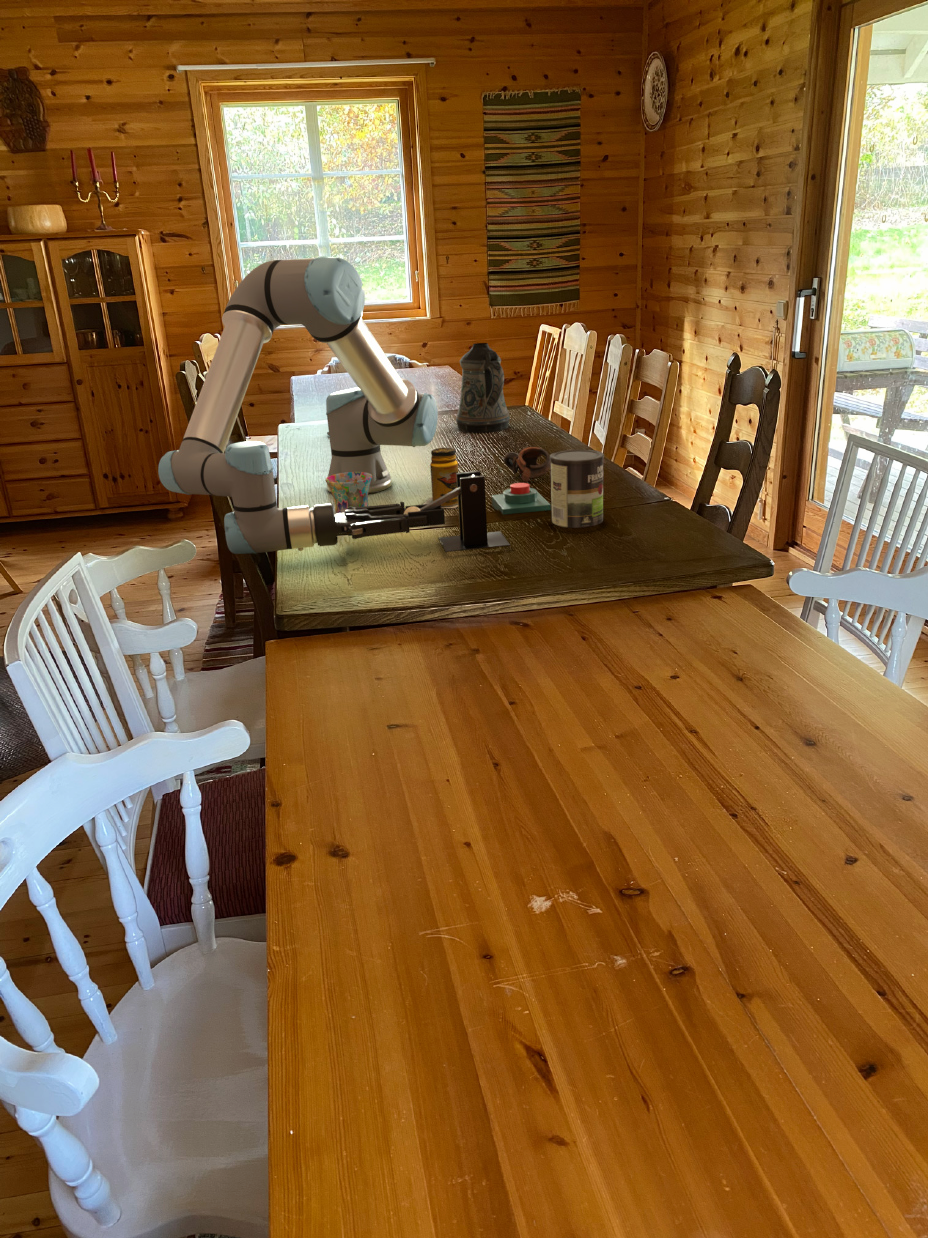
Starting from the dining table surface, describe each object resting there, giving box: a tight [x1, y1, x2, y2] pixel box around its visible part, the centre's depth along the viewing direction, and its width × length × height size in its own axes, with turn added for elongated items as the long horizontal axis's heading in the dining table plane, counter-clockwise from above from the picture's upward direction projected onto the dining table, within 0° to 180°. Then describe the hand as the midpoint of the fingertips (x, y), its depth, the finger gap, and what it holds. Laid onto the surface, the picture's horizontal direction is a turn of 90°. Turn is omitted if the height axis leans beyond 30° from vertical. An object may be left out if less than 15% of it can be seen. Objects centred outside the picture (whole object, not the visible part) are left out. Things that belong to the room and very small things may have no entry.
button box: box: [491, 487, 552, 516], centre depth 192 cm, size 12×10×4 cm
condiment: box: [421, 447, 459, 509], centre depth 199 cm, size 7×8×12 cm
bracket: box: [438, 470, 511, 553], centre depth 169 cm, size 12×9×14 cm
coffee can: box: [549, 448, 605, 529], centre depth 178 cm, size 10×10×14 cm
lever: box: [404, 474, 475, 515], centre depth 167 cm, size 15×4×4 cm, turn 100°
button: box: [509, 482, 531, 494], centre depth 192 cm, size 4×4×2 cm
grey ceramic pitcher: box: [455, 342, 511, 434], centre depth 276 cm, size 16×19×25 cm
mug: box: [324, 472, 372, 514], centre depth 186 cm, size 12×9×11 cm
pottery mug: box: [503, 446, 551, 483], centre depth 218 cm, size 12×10×8 cm
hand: (442, 513), depth 168 cm, fingers closed on lever, 4 cm apart
